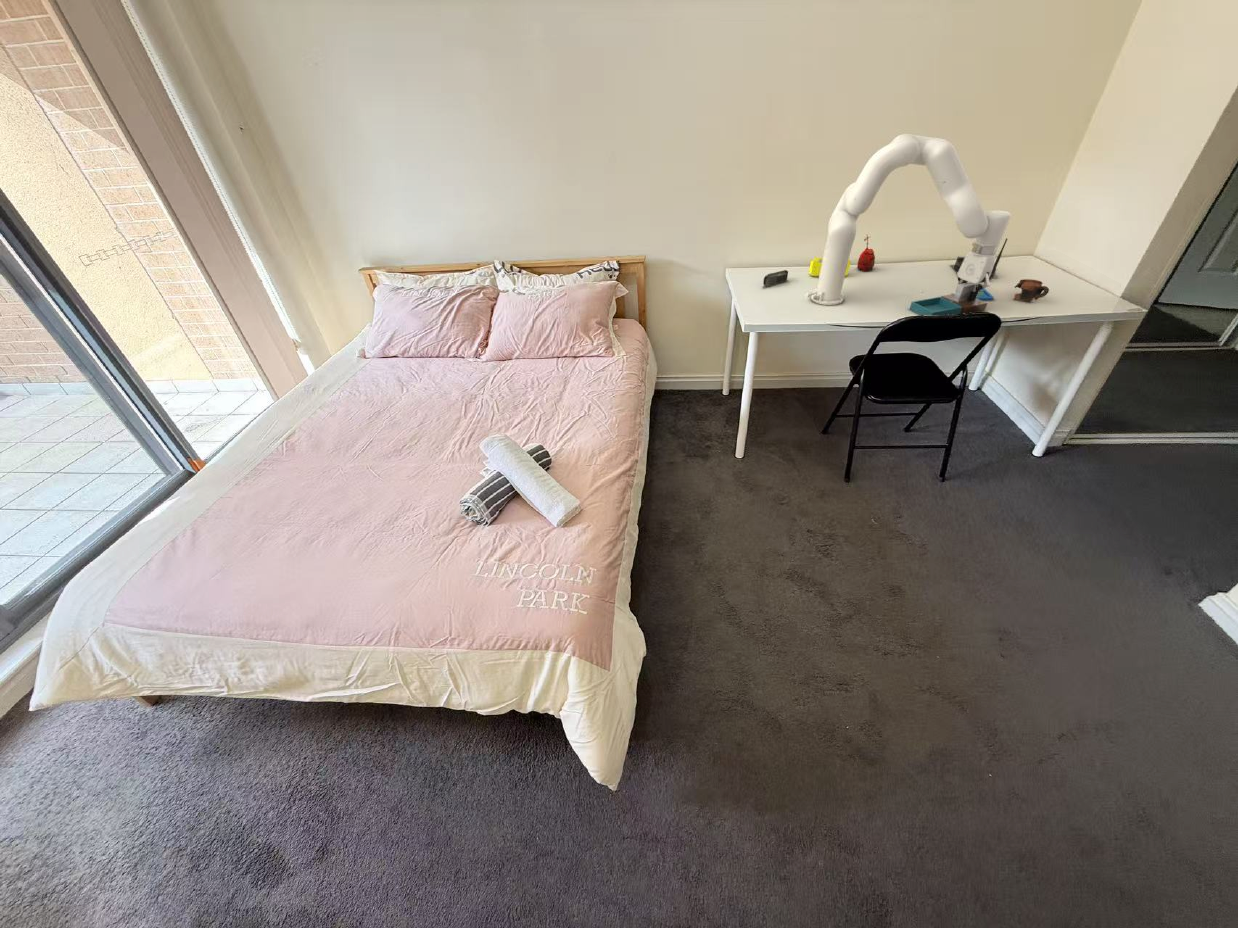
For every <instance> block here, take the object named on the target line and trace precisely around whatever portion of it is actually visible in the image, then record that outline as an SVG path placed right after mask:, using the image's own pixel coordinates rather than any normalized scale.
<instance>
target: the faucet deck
mask: <svg viewBox="0 0 1238 928" xmlns="http://www.w3.org/2000/svg"><path fill="white" fill-rule="evenodd" d="M954 295H955V293H952V292H951V294H950V293H949V294H946V295H945V294H944V295H941V296H940V297H942V298H944V299H947V300H949V301H950V302H953V303H955V304H957V305H959V306H961V307H963V308H962V310H961V313H960V315H962V314H963V313H969V314H971V313H970V312H974V313H979V312H984V311H985V310H986V308H987V307H988V306H987V305H988V302H986V301H985V300H980V299H977V298H976V299H975V300H974V301H970V302H968V301H961V302H956V301H954V300H953V297H954ZM977 297H978V296H977Z"/></svg>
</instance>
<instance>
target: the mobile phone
mask: <svg viewBox="0 0 1238 928" xmlns="http://www.w3.org/2000/svg"><path fill="white" fill-rule="evenodd" d="M788 276H789V270H787V269H784V270H779V271H775V272H770V273H767V274H766V275H764V277H763V280H762V281H763V282H762V285H763V286H762V289H764V288H767V287H771V286H774V285H778V284H779V285H780V284H783V283H786V282H787V281H788Z"/></svg>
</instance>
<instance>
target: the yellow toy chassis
mask: <svg viewBox="0 0 1238 928" xmlns="http://www.w3.org/2000/svg"><path fill="white" fill-rule="evenodd" d="M822 261H823V257H815V258H813V259H812V260H811V261H810V264H809V269H808V273H809V274H810V276H811V277H815V278H819V275H820V270H821V266H822ZM851 263H852V261H851V260H850V259H849V260H848V265H847V269H846V273H845V276H848V274H849V270H850V266H851Z"/></svg>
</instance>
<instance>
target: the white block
mask: <svg viewBox="0 0 1238 928" xmlns="http://www.w3.org/2000/svg"><path fill="white" fill-rule="evenodd" d="M983 284H984V283H982V285H983ZM977 287H978V284H977ZM972 290H973V283H970V282H967V283H963V284H958V283H957V287H956V289H955V292H954V294H955V295H954V297H953V300H954V301H956V302H961V301H967V298H968V296H969V294H970V291H972ZM978 293H979V292H978ZM977 296H978V294H977ZM977 296H976V298H977Z"/></svg>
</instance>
